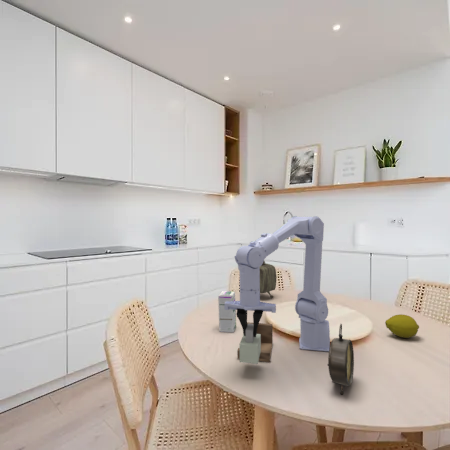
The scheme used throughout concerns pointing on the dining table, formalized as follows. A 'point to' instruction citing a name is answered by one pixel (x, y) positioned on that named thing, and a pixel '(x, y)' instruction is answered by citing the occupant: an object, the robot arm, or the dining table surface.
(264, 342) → the cleat board
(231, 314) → the syrup box
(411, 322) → the lemon
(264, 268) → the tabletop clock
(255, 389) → the dining table surface
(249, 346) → the pale grey boxy piece
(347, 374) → the alarm clock
